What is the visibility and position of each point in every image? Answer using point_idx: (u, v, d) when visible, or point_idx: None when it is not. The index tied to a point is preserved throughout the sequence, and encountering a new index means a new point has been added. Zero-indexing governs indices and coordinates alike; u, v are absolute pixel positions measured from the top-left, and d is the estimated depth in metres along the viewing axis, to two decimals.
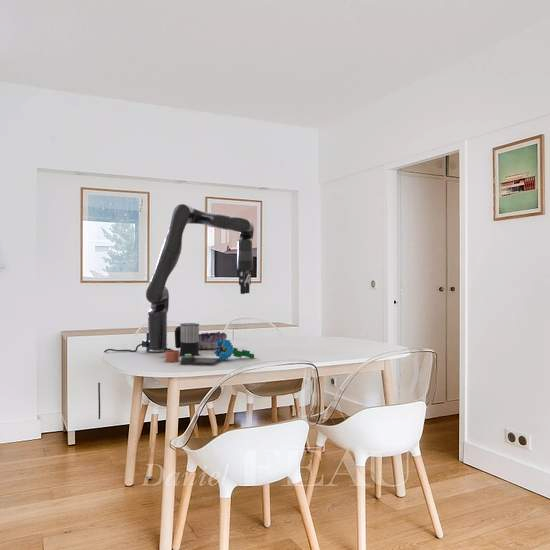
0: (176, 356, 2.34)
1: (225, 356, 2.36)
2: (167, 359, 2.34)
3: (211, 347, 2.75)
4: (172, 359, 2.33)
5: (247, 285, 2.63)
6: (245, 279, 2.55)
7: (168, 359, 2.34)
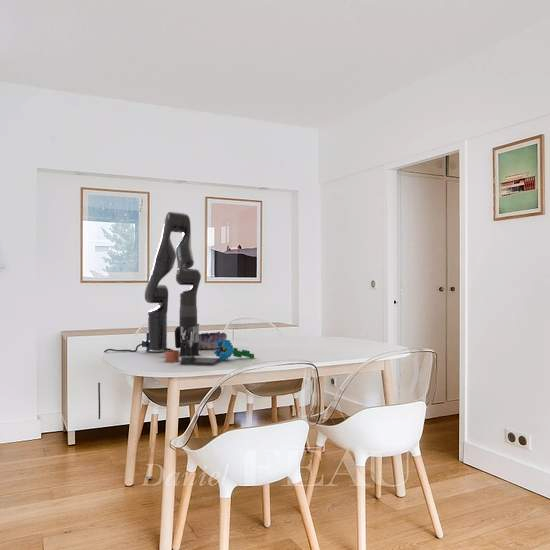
0: (176, 356, 2.34)
1: (225, 356, 2.36)
2: (167, 359, 2.34)
3: (211, 347, 2.75)
4: (172, 359, 2.33)
5: None
6: (189, 339, 2.27)
7: (168, 359, 2.34)
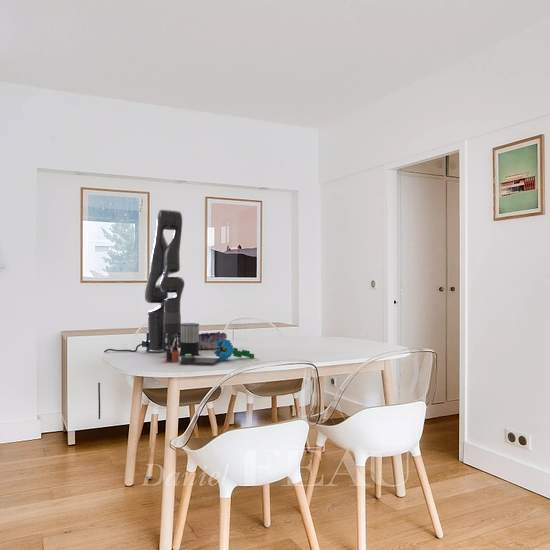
0: (176, 356, 2.34)
1: (225, 356, 2.36)
2: None
3: (211, 347, 2.75)
4: (172, 359, 2.33)
5: None
6: (171, 345, 2.33)
7: None
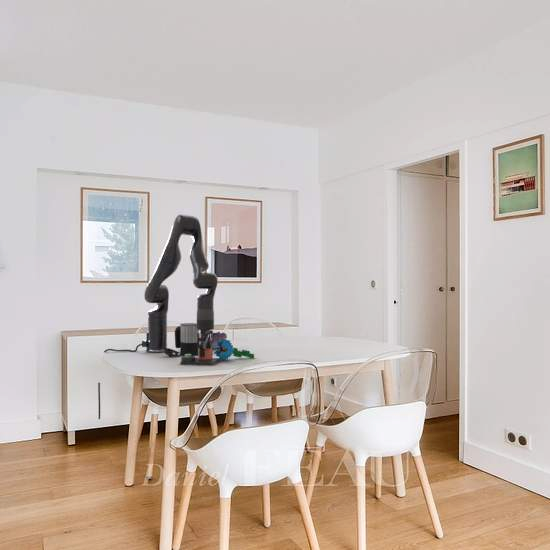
0: (210, 354, 2.31)
1: (225, 356, 2.36)
2: (201, 357, 2.30)
3: (211, 347, 2.75)
4: (206, 357, 2.30)
5: (208, 345, 2.37)
6: (205, 340, 2.29)
7: (202, 357, 2.30)
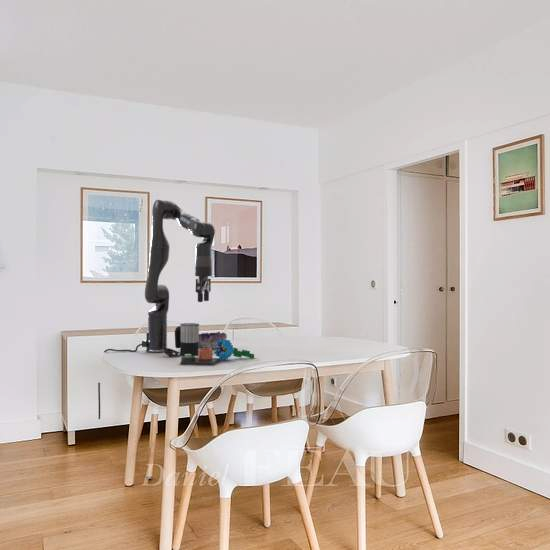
0: (210, 354, 2.31)
1: (225, 356, 2.36)
2: (201, 357, 2.30)
3: (211, 347, 2.75)
4: (206, 357, 2.30)
5: (206, 292, 2.48)
6: (203, 286, 2.40)
7: (202, 357, 2.30)
